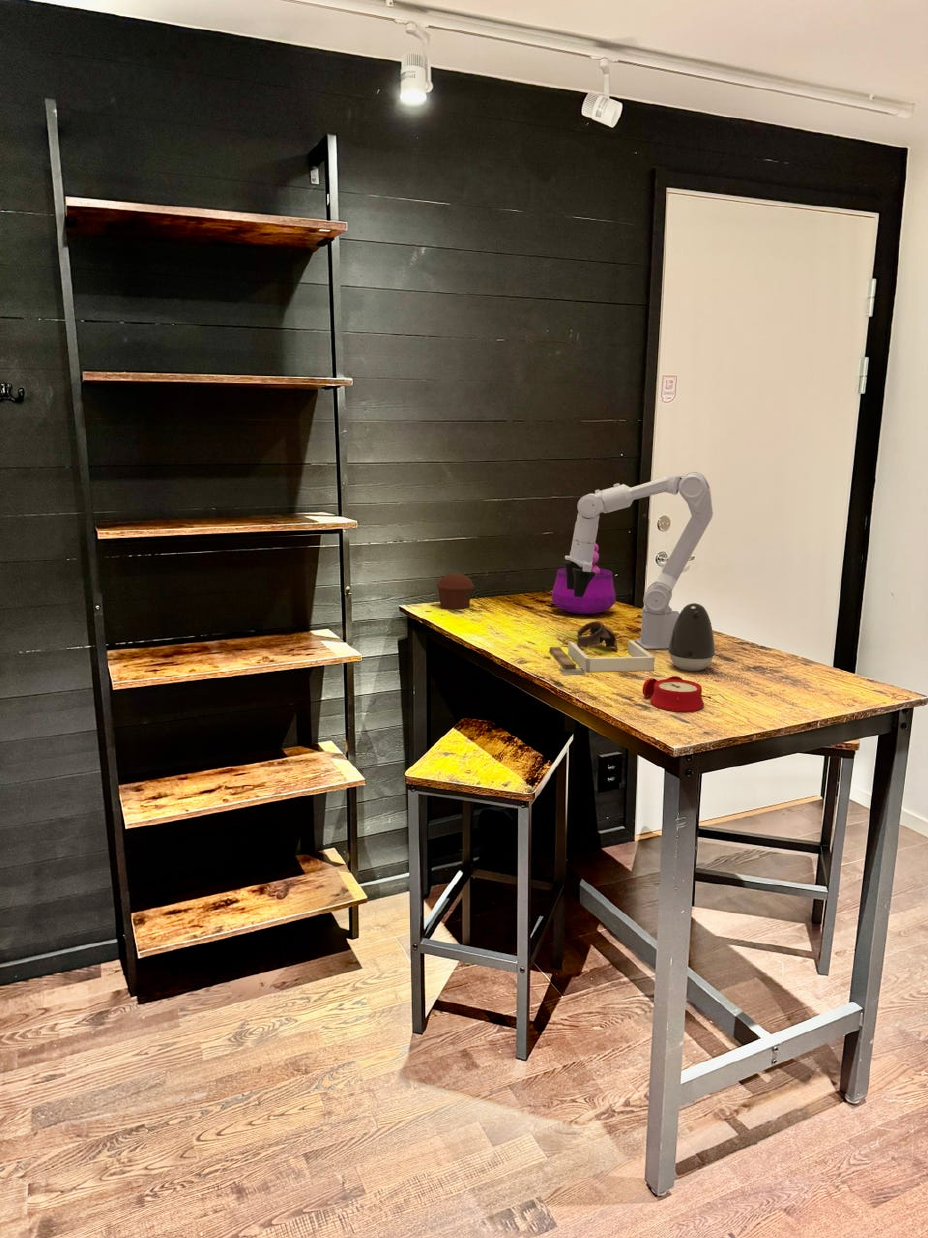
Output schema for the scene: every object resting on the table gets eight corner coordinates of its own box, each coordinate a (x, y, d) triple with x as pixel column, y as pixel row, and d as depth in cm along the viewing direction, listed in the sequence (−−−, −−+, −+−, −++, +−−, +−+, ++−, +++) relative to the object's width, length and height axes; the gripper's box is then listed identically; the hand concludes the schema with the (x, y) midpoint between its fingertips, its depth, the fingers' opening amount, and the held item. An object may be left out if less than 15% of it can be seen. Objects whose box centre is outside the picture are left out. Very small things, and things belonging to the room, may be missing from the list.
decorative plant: (549, 605, 263) (553, 507, 256) (610, 606, 262) (615, 508, 256) (553, 618, 245) (557, 514, 238) (618, 620, 244) (624, 515, 237)
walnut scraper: (544, 653, 208) (544, 647, 208) (564, 652, 209) (564, 646, 209) (563, 676, 189) (563, 669, 189) (585, 675, 190) (585, 669, 189)
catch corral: (631, 652, 209) (632, 640, 208) (653, 670, 193) (654, 657, 193) (568, 653, 207) (568, 641, 206) (585, 672, 191) (585, 659, 191)
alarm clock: (673, 699, 162) (634, 662, 175) (666, 727, 164) (629, 688, 177) (719, 694, 165) (678, 658, 178) (712, 721, 168) (672, 684, 181)
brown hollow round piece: (622, 657, 206) (609, 630, 203) (586, 671, 209) (572, 645, 206) (617, 633, 217) (605, 607, 214) (583, 647, 219) (570, 622, 216)
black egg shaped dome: (669, 673, 191) (674, 607, 188) (665, 661, 201) (669, 598, 198) (716, 675, 190) (721, 609, 186) (709, 663, 200) (714, 599, 197)
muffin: (428, 607, 259) (428, 574, 256) (451, 601, 267) (451, 570, 265) (459, 612, 252) (459, 579, 249) (481, 606, 260) (482, 574, 258)
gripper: (562, 534, 222) (553, 584, 225) (576, 544, 208) (566, 598, 212) (587, 537, 223) (578, 587, 226) (603, 548, 209) (593, 601, 213)
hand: (574, 592), depth 219 cm, fingers open, 7 cm apart
